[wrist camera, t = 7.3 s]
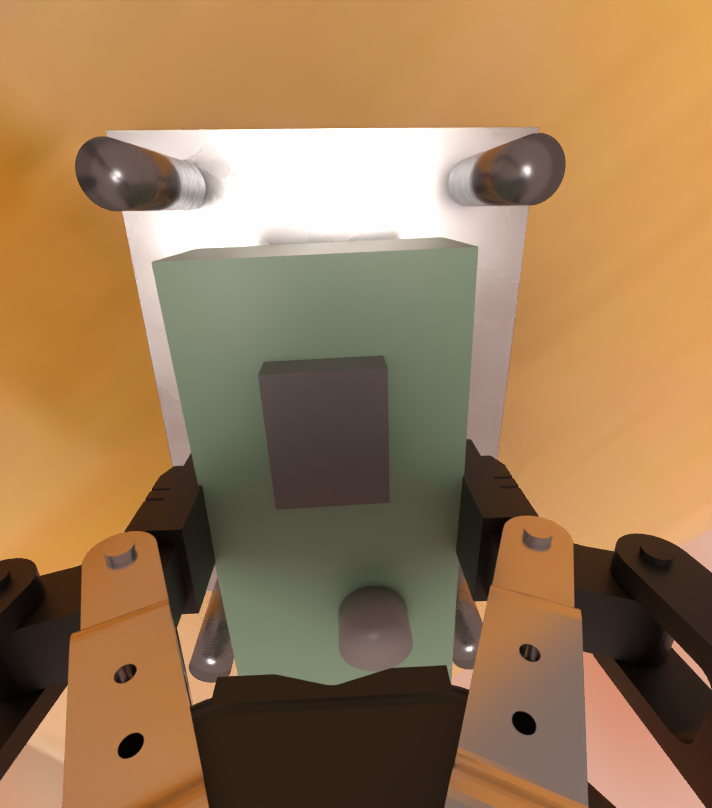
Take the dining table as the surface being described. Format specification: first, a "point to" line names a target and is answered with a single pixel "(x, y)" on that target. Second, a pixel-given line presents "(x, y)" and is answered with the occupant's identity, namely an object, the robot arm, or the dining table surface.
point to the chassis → (329, 222)
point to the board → (328, 443)
